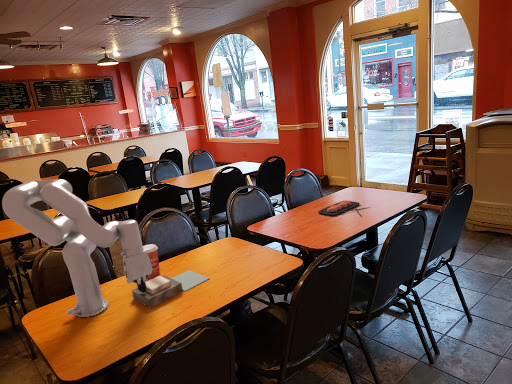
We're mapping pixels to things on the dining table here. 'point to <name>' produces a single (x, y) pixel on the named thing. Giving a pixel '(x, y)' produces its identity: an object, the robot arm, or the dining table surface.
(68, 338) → the dining table surface
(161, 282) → the beige rectangular block
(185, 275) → the mat
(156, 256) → the coffee cup
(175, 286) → the grey rectangular block
